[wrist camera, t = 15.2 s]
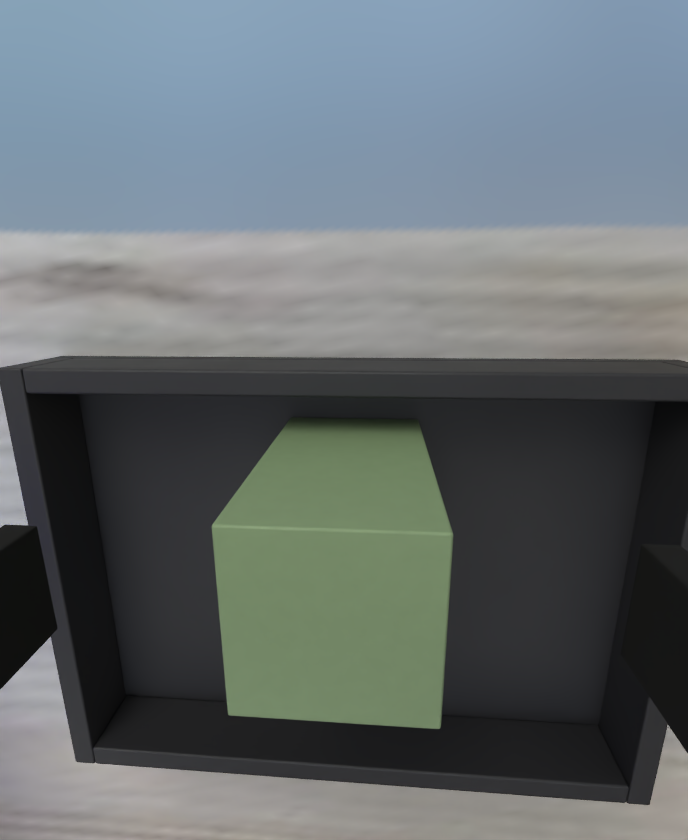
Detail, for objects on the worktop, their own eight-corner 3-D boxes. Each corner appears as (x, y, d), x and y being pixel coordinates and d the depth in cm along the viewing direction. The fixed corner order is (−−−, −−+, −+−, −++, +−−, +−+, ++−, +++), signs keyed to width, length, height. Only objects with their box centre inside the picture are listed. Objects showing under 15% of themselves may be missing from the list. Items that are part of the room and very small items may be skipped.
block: (418, 418, 16) (454, 533, 8) (413, 535, 17) (441, 730, 9) (290, 417, 16) (209, 524, 9) (294, 531, 17) (226, 716, 10)
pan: (678, 359, 15) (748, 374, 12) (609, 729, 19) (650, 806, 16) (61, 355, 17) (-5, 368, 14) (117, 698, 21) (75, 762, 18)
